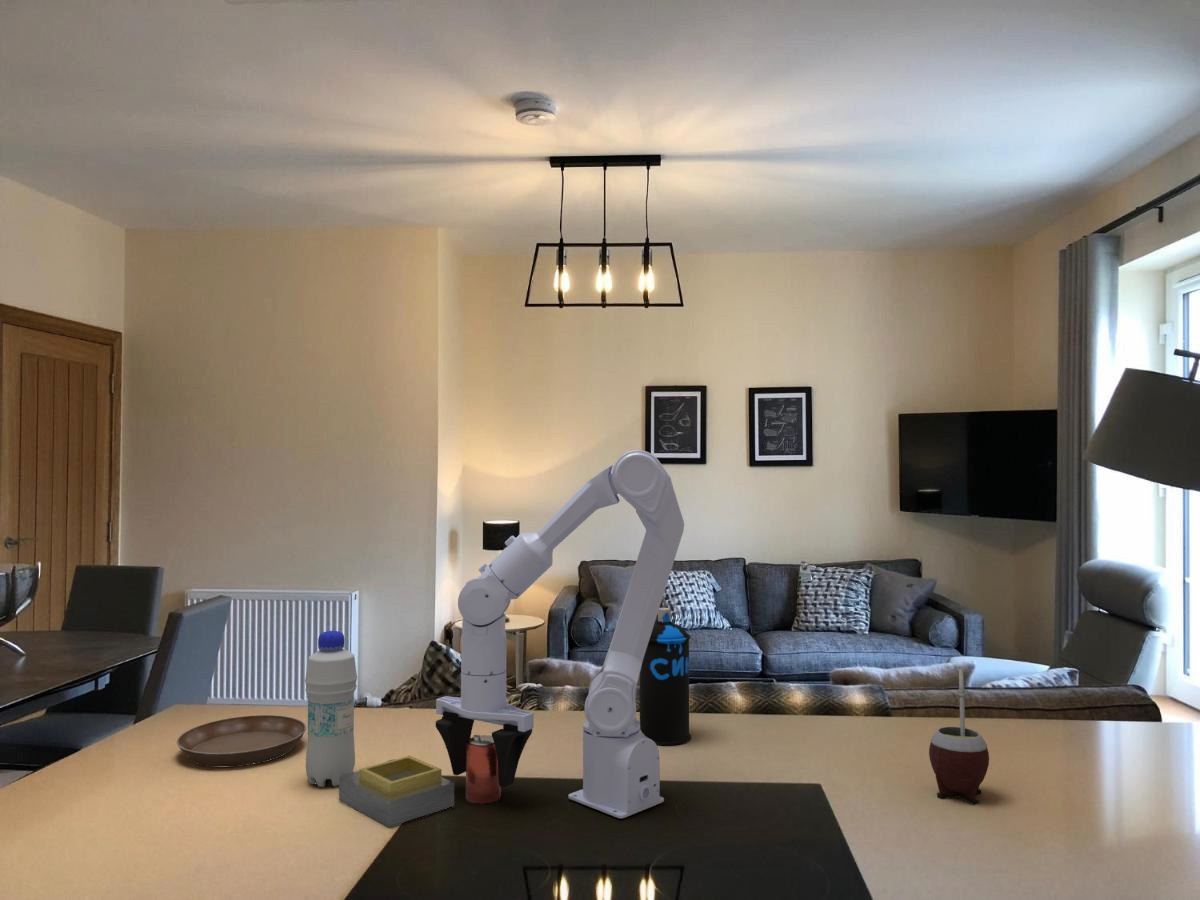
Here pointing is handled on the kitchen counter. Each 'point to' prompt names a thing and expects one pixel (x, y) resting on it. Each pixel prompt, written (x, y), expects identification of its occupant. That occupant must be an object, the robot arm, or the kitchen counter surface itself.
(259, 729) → the plant saucer
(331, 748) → the bottle
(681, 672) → the aerosol can
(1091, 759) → the kitchen counter surface
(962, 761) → the mate gourd
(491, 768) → the red metal cylinder
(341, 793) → the grey socket block
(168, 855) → the kitchen counter surface
